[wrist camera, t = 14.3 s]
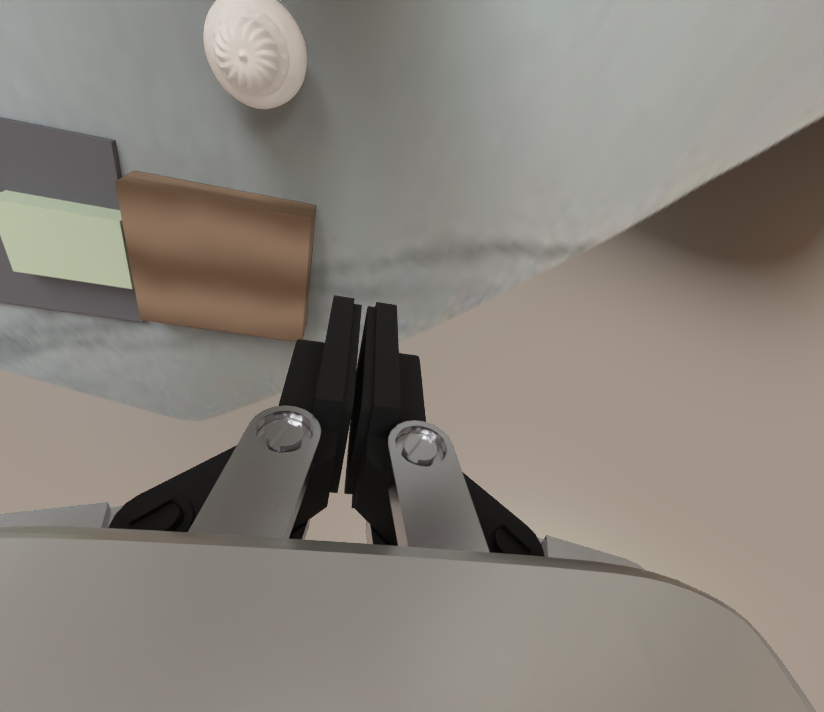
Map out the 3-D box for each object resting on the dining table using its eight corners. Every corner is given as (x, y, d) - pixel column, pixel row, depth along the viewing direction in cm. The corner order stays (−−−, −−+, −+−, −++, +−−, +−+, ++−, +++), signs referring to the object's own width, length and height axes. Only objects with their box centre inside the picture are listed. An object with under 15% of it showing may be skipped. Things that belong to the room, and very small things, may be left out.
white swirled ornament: (310, 110, 32) (294, 128, 27) (223, 90, 31) (188, 105, 26) (317, 4, 29) (301, 0, 23) (218, -22, 28) (176, -32, 22)
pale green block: (29, 260, 37) (13, 271, 36) (5, 189, 34) (-13, 198, 32) (142, 278, 39) (132, 289, 37) (131, 212, 35) (119, 221, 34)
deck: (133, 170, 34) (114, 181, 32) (316, 205, 36) (311, 218, 34) (154, 302, 41) (140, 319, 39) (306, 324, 43) (301, 342, 41)
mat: (-139, 89, 30) (-147, 90, 30) (114, 140, 33) (110, 141, 32) (-45, 292, 40) (-51, 295, 39) (146, 318, 42) (143, 322, 42)
